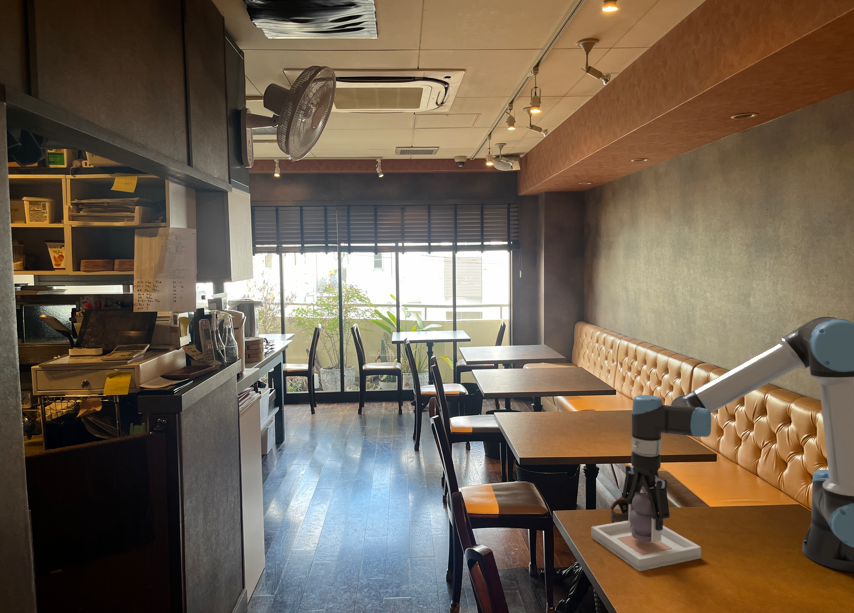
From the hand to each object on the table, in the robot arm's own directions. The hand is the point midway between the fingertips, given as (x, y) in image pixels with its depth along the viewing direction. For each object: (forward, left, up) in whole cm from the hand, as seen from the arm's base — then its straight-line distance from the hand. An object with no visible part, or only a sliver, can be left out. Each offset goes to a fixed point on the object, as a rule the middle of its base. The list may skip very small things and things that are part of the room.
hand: (644, 533), depth 156 cm
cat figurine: (0, 0, -1) cm, 1 cm away
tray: (0, 0, -4) cm, 4 cm away
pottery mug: (+15, -7, -4) cm, 17 cm away
